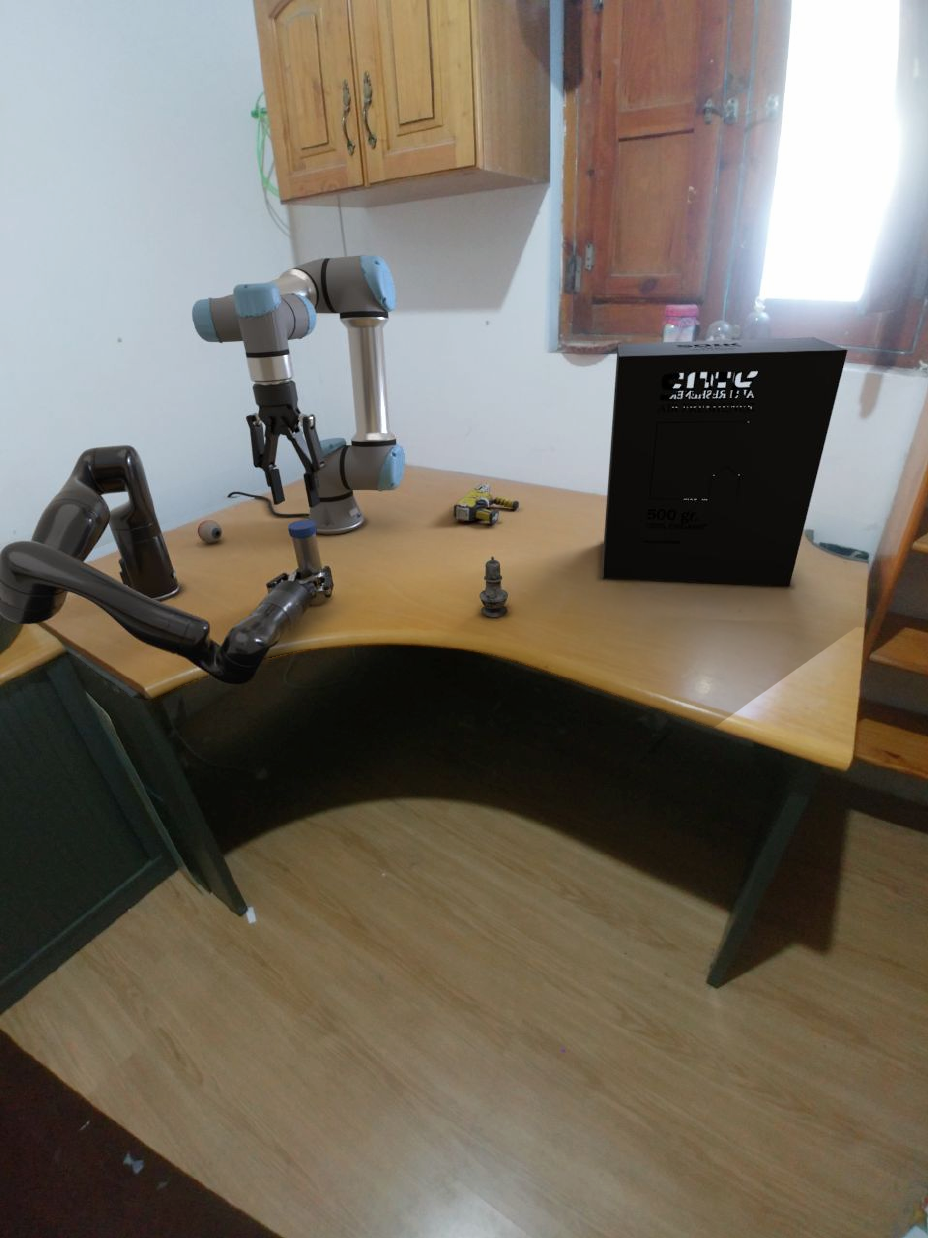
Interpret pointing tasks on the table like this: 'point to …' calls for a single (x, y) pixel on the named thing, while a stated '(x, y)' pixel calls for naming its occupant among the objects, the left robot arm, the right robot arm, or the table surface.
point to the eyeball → (209, 531)
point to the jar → (309, 561)
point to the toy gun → (480, 505)
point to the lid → (302, 528)
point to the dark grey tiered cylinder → (493, 591)
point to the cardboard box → (716, 458)
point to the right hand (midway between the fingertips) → (297, 503)
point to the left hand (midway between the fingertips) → (316, 569)
